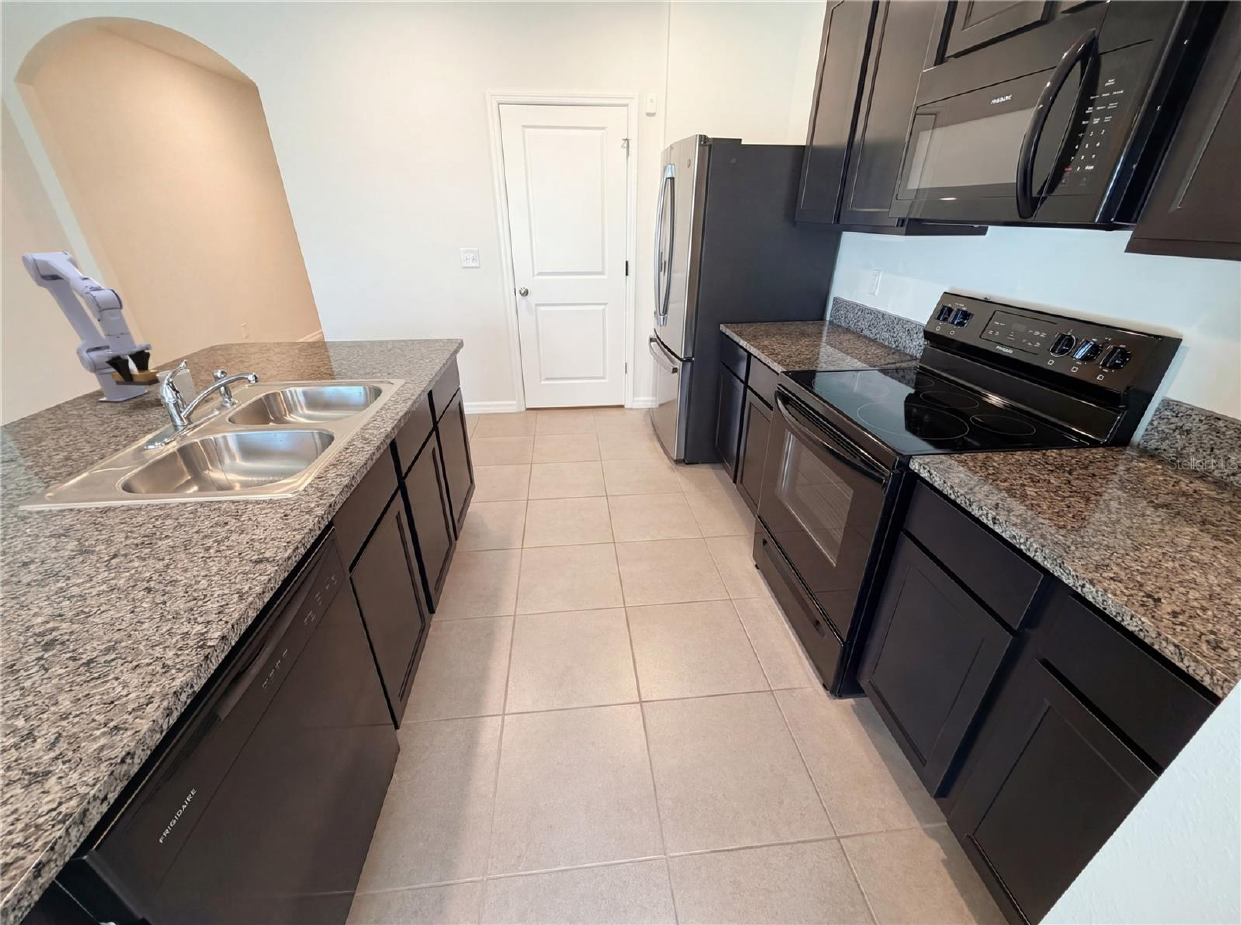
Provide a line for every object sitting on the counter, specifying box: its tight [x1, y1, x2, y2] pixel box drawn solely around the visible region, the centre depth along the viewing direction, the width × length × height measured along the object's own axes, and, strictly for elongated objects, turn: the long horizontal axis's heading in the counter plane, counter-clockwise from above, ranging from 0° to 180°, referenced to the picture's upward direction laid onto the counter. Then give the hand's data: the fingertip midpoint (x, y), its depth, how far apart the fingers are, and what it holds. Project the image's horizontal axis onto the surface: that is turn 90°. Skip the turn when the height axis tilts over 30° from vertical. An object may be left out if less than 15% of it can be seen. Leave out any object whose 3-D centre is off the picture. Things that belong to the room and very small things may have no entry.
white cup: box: [156, 368, 198, 403], centre depth 155 cm, size 8×8×10 cm
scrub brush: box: [111, 369, 160, 387], centre depth 152 cm, size 11×4×4 cm, turn 84°
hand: (137, 379), depth 153 cm, fingers closed on scrub brush, 4 cm apart
